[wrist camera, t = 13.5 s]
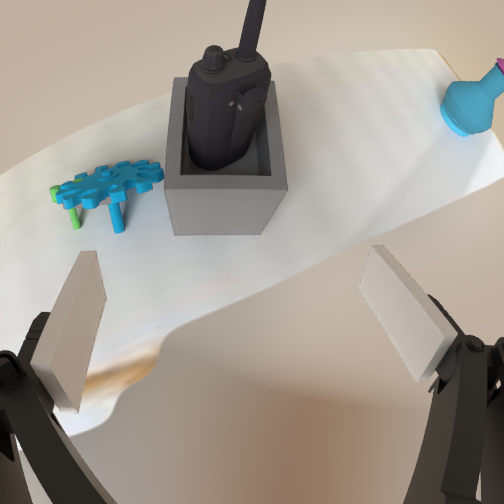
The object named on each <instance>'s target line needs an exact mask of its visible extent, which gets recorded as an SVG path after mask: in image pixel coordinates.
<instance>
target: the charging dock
mask: <svg viewBox="0 0 504 504" xmlns="http://www.w3.org/2000/svg"><path fill="white" fill-rule="evenodd" d="M187 82H188V77H186V78H185V77H182V78H174V82H173V90H172V98H171V107H170V116H169V127H168V138H167V150H166V164H165V180H164V192H165V197H166V201H167V205H168V210H169V214H170V219H171V223H172V227H173V231H174V235H260V234H261V232H262V231H263V229H264V227H265V226H266V224H267V223H268V221H269V219H270V218H271V216H272V215H273V213H274V211H275V210H276V208H277V206H278V205H279V203H280V202H281V200H282V198H283V197H284V195H285V194H286V192H287V190H288V188H287V179H286V170H285V161H284V153H283V144H282V136H281V128H280V121H279V113H278V105H277V98H276V91H275V84H274V81H270V85H269V89H268V93H267V100H266V103H264V106H263V109H262V112H261V115H260V118H259V121H258V123H257V126H256V129H255V132H254V134H253V137H252V140H251V143H250V145H249V148H248V150H247V152H246V154H245V155H244V156H243V157H242V158H240V159H238V160H237V161H235V162H233V163H232V164H230V165H228V166H226V167H223V168H221V169H219V170H215V171H206V170H205V169H202V168H199V167H197V166H196V165H195V164H194V163H193V162H192V160H191V157H190V155H189V145H188V135H187V113H186V97H187Z"/></svg>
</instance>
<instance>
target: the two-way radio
mask: <svg viewBox="0 0 504 504" xmlns="http://www.w3.org/2000/svg"><path fill="white" fill-rule="evenodd" d="M265 5H266V0H250V2H249V6H248V9H247V13H246V17H245V21H244V25H243V30H242V35H241V39H240V44H239V47H238V48H234V49H230V50H226V51H223V49H222V48H221V47H220V46H217V45H212V46H209V47H207V49H206V50H205V52H204V56H203V59H201V60H199V61H197V62H195V63H194V64H193V66H192V68H191V69H190V72H189V76H188V82H187V97H186V113H187V135H188V145H189V155H190V157H191V160H192V162H193V163H194V164H195V165H196V166H197V167H199V168H202V169H205V170H206V171H215V170H219V169H221V168H223V167H226V166H228V165H230V164H232V163H233V162H235V161H237V160H238V159H240V158H242V157H243V156H244V155H245V154H246V152H247V150H248V148H249V145H250V143H251V140H252V137H253V134H254V132H255V129H256V126H257V123H258V121H259V118H260V115H261V112H262V109H263V106H264V103H266V100H267V93H268V89H269V85H270V81H271V72H270V70H269V67H268V63H267V62H266V61H265V59H264V58H263V57H262V56H261V55H260V54H259V53H258V52H257V51H256V48H257V43H258V38H259V34H260V29H261V25H262V20H263V15H264V10H265Z"/></svg>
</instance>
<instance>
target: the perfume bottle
mask: <svg viewBox="0 0 504 504" xmlns="http://www.w3.org/2000/svg"><path fill="white" fill-rule="evenodd" d="M497 62H498V63H495V66H494V67H493V68H492V69H491V70H490V71H489V72H488V73H487V74H486V75H485V76H484V77H483V78H482V79H481V80H480V81H469V82H468V81H455V82H452V83H451V84H450V86H449V87H448V89H447V91H446V96H445V98H444V103H443V104H442V105H441V108H440V110H441V114H442V116H443V118H444V120H445V122H446V123H447V124H448V126H449V127H450V128H451V129H452V130H453V131H454V132H456V133H457V134H458V135H460V136H464V137H466V136H468V135H469V134H475V133H481V132H484V131H486V130H488V129H490V127H491V125H492V118H493V109H494V101H495V99H496V98H497V97H498V96H499V95H501V94H502V93H503V92H504V59H501V58H497Z"/></svg>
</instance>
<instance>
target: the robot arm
mask: <svg viewBox="0 0 504 504" xmlns="http://www.w3.org/2000/svg"><path fill="white" fill-rule="evenodd" d="M358 290H359V291H360V293H361V294H362V296H363V297H364V299H365V301H366V302H367V304H368V305H369V307H370V308H371V310H372V311H373V313H374V314H375V316H376V318H377V319H378V321H379V322H380V324H381V326H382V327H383V329H384V331H385V332H386V334H387V335H388V337H389V339H390V340H391V342H392V344H393V345H394V347H395V349H396V350H397V352H398V354H399V355H400V357H401V359H402V360H403V362H404V363H405V365H406V367H407V369H408V370H409V372H410V374H411V376H412V377H413V379H414V381H415V382H416V383H419V382H422V381H425V380H429V379H430V377H431V376H432V374H433V373H434V372H435V370H436V371H437V373H438V375H439V376H438V377H437V379H436V380H435V381H434V383H433V384H432V386H431V387H430V389H429V391H428V392H429V393H430V392H431V391H432V389H433V388H434V392H433V398H432V403H431V408H430V413H429V418H428V422H427V426H426V430H425V434H424V438H423V442H422V446H421V450H420V453H419V457H418V460H417V464H416V467H415V470H414V473H413V476H412V479H411V483H410V485H409V488H408V491H407V494H406V497H405V500H404V503H403V504H504V337H501V338H499V339H498V340H497V342H496V343H495V345H494V346H492V345H485V344H484V343H483V341H481V340H480V339H479V338H477V337H475V336H473V335H465V334H464V333H463V331H462V330H461V329H460V327H459V326H458V325H457V324H456V322H455V321H454V320H453V319H452V318H451V316H450V315H449V314H448V313H447V311H446V310H444V308H443V307H442V305H441V304H440V303H439V302H438V301H437V300H436V299H435V298H433V297H432V296H431V295H427V294H426V293H425V292H424V291H423V290H422V288H421V287H420V286H419V285H418V284H417V282H416V281H415V280H414V279H413V278H412V277H411V276H410V274H409V273H408V272H407V271H406V270H405V269H404V268H403V267H402V265H401V264H400V263H399V262H398V261H397V260H396V259H395V257H394V256H393V255H392V254H391V253H390V252H389V251H388V250H387V249H386V248H385V246H384V245H371V247H370V251H369V255H368V258H367V262H366V265H365V269H364V272H363V275H362V279H361V282H360V285H359V288H358ZM106 300H107V297H106V293H105V289H104V285H103V280H102V276H101V271H100V267H99V262H98V257H97V252H96V251H81V252H80V254H79V256H78V258H77V260H76V262H75V264H74V266H73V268H72V270H71V271H70V273H69V275H68V277H67V279H66V281H65V283H64V285H63V288H62V290H61V292H60V294H59V296H58V298H57V300H56V302H55V304H54V307H53V309H52V311H51V312H41V313H40V314H39V315H38V316H37V317H36V318H35V319H34V320H33V322H32V324H31V326H30V329H29V332H28V333H27V335H26V340H24V342H23V344H22V347H21V349H20V351H19V354H18V356H17V357H16V355H15V354H14V353H13V352H11V351H9V350H3V351H0V504H33V503H32V500H31V496H30V493H29V490H28V487H27V483H26V480H25V476H24V473H23V469H22V465H21V461H20V457H19V453H18V448H17V443H16V439H15V435H16V437H17V439H18V441H19V443H20V446H21V448H22V450H23V452H24V454H25V456H26V457H27V460H28V462H29V463H30V465H31V467H32V469H33V471H34V473H35V474H36V476H37V478H38V480H39V482H40V483H41V485H42V487H43V488H44V490H45V492H46V493H47V495H48V497H49V498H50V500H51V501H52V503H53V504H117V503H116V502H115V501H114V499H113V498H112V497H111V496H110V495H109V493H108V492H107V491H106V490H105V488H104V487H103V486H102V485H101V483H100V482H99V481H98V479H97V478H96V477H95V476H94V474H93V473H92V471H91V470H90V469H89V467H88V466H87V464H86V463H85V462H84V460H83V459H82V457H81V456H80V454H79V453H78V451H77V450H76V448H75V447H74V445H73V444H72V442H71V441H70V439H69V438H68V436H67V434H66V433H65V431H64V430H63V428H62V426H61V425H60V423H59V421H58V420H57V418H56V416H55V415H54V413H53V408H54V404H56V406H57V407H58V409H59V410H60V411H61V412H68V413H77V414H79V408H80V403H81V398H82V393H83V388H84V384H85V379H86V375H87V370H88V366H89V362H90V358H91V354H92V350H93V346H94V342H95V338H96V335H97V331H98V327H99V324H100V320H101V317H102V313H103V310H104V306H105V303H106ZM499 380H500V382H501V386H500V387H499V388H498V389H497V386H496V384H497V382H498V381H499ZM480 472H481V502H480V501H478V500H476V490H477V485H478V480H479V474H480Z"/></svg>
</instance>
